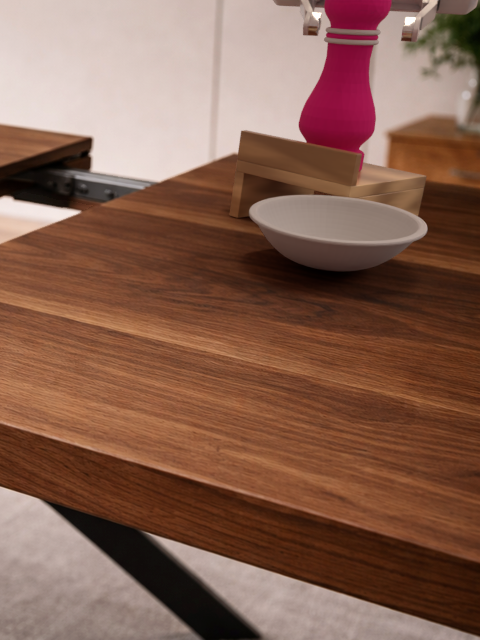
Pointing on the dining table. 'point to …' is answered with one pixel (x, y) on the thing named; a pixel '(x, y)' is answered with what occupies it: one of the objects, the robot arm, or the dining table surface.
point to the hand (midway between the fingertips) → (358, 34)
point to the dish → (336, 230)
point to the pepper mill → (345, 78)
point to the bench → (315, 175)
